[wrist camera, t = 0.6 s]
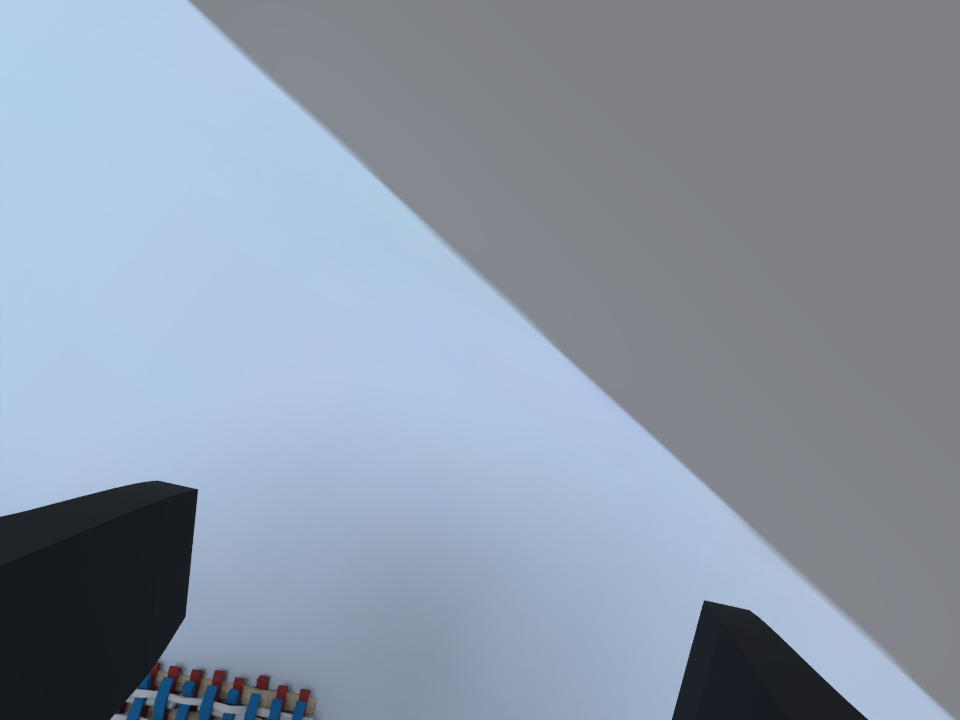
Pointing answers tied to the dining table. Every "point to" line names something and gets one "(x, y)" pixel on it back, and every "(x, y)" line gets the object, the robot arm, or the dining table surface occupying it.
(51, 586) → the robot arm
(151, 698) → the woven mat
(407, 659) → the dining table surface
